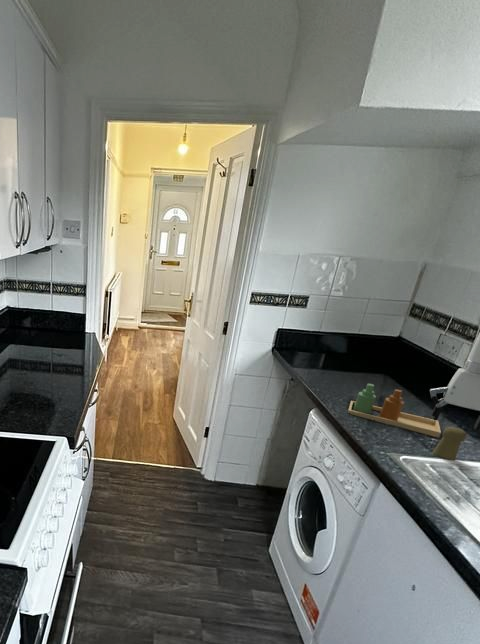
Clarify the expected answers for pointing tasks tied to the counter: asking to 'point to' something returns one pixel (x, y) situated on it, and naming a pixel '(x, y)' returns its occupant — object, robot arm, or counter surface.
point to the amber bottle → (392, 406)
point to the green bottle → (365, 400)
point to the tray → (404, 421)
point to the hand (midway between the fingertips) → (455, 423)
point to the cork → (449, 443)
